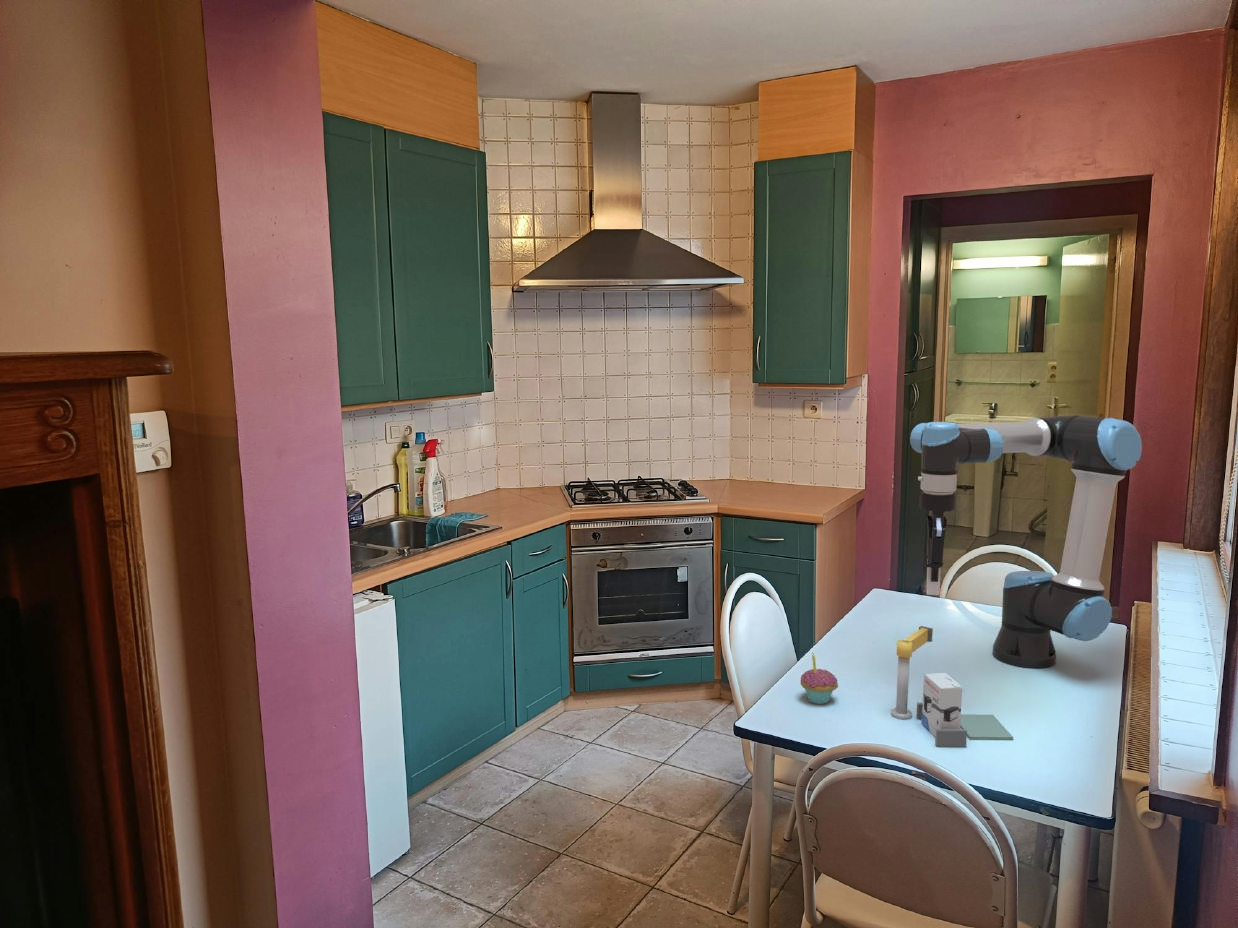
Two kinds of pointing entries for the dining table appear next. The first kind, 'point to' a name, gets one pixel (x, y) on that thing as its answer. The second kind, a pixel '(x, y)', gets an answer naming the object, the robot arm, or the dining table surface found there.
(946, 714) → the ink box
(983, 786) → the dining table surface
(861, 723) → the dining table surface
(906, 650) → the yellow long bar
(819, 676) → the cupcake
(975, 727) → the mat
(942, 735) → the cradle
